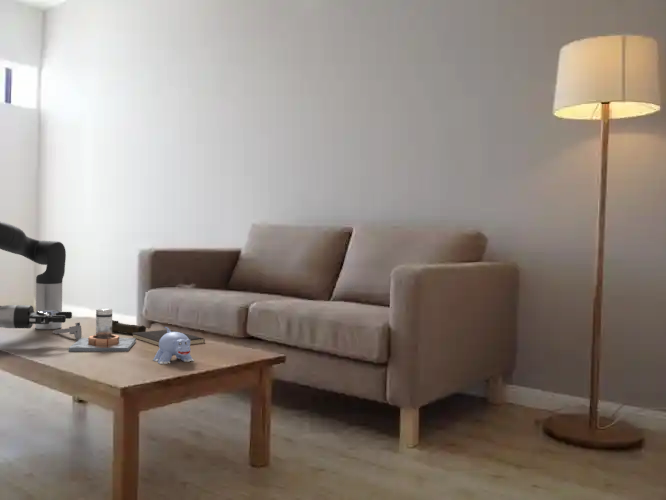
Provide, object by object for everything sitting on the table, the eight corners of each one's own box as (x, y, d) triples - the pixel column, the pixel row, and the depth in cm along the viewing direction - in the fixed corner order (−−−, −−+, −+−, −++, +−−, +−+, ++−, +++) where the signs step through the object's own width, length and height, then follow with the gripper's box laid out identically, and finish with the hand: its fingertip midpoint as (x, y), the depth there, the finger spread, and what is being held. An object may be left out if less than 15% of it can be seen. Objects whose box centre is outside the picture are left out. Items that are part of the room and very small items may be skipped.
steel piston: (97, 341, 216) (97, 308, 216) (113, 341, 217) (113, 308, 216) (94, 344, 211) (94, 310, 211) (110, 344, 212) (111, 310, 211)
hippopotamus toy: (167, 368, 185) (167, 335, 184) (149, 358, 197) (149, 327, 197) (202, 364, 191) (203, 332, 191) (182, 355, 203) (183, 325, 203)
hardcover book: (163, 349, 215) (163, 342, 215) (131, 339, 232) (131, 332, 232) (204, 344, 226) (204, 337, 226) (171, 335, 243) (172, 329, 243)
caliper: (81, 341, 224) (82, 322, 224) (78, 341, 223) (79, 323, 223) (54, 333, 237) (55, 316, 237) (51, 333, 237) (52, 316, 236)
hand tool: (146, 335, 238) (146, 323, 238) (138, 337, 235) (138, 324, 235) (110, 330, 248) (110, 318, 247) (101, 331, 244) (102, 319, 244)
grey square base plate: (81, 341, 221) (81, 332, 221) (135, 341, 224) (135, 332, 224) (68, 351, 204) (68, 341, 203) (128, 351, 207) (128, 341, 206)
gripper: (8, 308, 202) (63, 308, 205) (22, 302, 216) (73, 302, 219) (8, 331, 202) (63, 332, 205) (22, 324, 217) (73, 325, 219)
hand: (68, 317), depth 212 cm, fingers open, 8 cm apart
